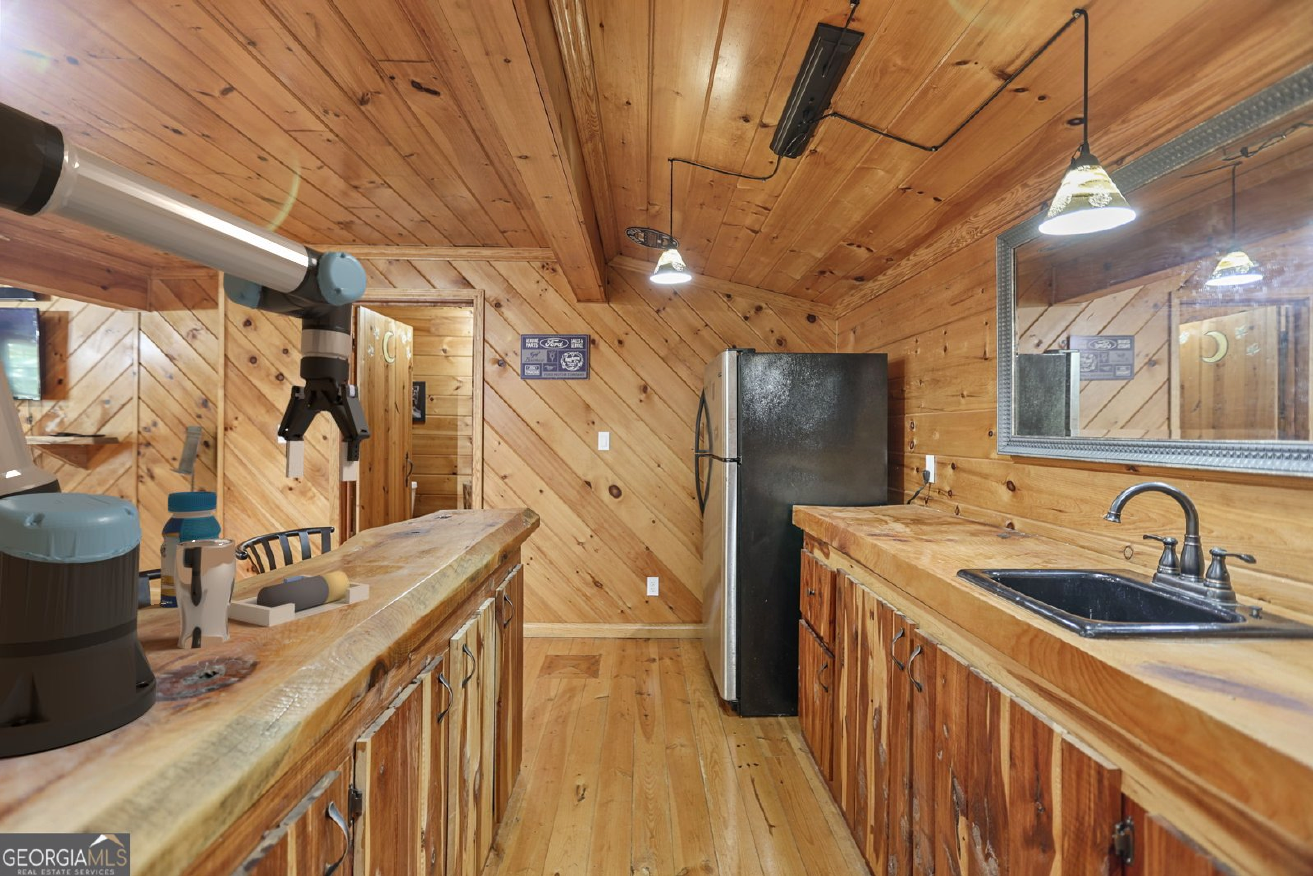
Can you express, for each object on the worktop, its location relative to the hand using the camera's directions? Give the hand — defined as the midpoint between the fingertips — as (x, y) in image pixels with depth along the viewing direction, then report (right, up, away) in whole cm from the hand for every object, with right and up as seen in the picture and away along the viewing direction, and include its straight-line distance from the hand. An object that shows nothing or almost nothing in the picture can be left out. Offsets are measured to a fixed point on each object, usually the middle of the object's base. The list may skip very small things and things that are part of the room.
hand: (320, 479), depth 102 cm
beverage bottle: (-23, -23, 0) cm, 32 cm away
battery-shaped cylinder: (-1, -22, -3) cm, 22 cm away
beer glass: (-5, -23, -19) cm, 30 cm away
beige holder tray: (-5, -23, -1) cm, 23 cm away
